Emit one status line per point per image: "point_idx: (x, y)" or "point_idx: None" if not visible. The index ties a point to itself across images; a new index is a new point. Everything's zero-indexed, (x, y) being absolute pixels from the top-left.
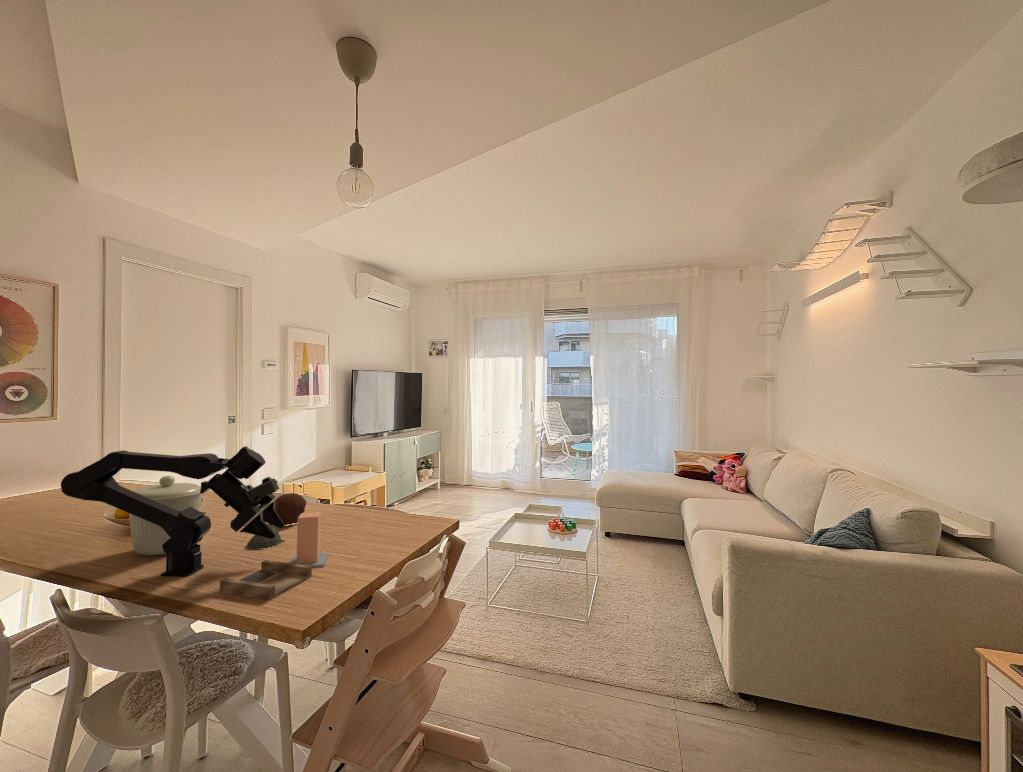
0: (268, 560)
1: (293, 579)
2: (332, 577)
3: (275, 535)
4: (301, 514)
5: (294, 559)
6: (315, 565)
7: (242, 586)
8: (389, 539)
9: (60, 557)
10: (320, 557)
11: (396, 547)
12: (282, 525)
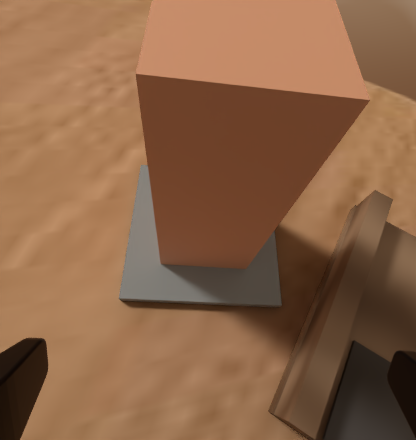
0: (300, 397)
1: (403, 257)
2: (356, 157)
3: (404, 350)
4: (220, 74)
5: (187, 285)
6: None
7: None
8: (60, 21)
9: None
10: None
11: (147, 20)
12: (40, 357)
